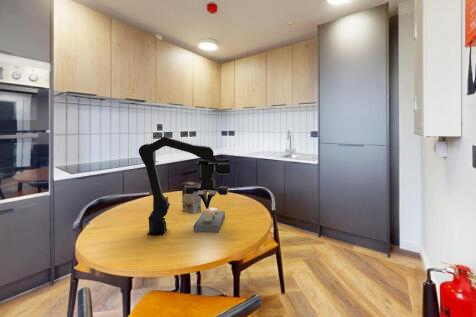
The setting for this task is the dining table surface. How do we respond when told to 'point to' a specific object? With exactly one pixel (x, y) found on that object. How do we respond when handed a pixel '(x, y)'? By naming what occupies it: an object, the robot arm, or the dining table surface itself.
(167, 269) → the dining table surface
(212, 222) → the button panel
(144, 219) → the dining table surface
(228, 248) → the dining table surface
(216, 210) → the button offwhite
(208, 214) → the button terracotta
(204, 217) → the button sage
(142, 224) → the dining table surface
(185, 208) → the coffee box
